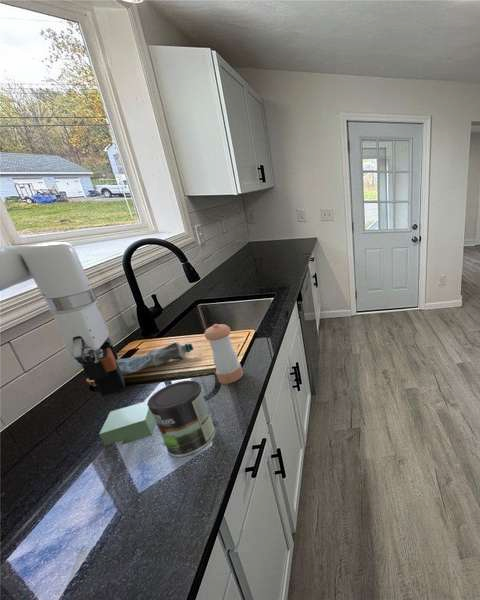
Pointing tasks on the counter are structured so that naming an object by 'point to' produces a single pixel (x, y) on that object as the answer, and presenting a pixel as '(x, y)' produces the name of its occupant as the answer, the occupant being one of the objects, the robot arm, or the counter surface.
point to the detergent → (153, 358)
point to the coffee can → (182, 418)
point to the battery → (109, 373)
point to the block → (128, 424)
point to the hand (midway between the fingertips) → (104, 368)
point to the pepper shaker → (223, 354)
